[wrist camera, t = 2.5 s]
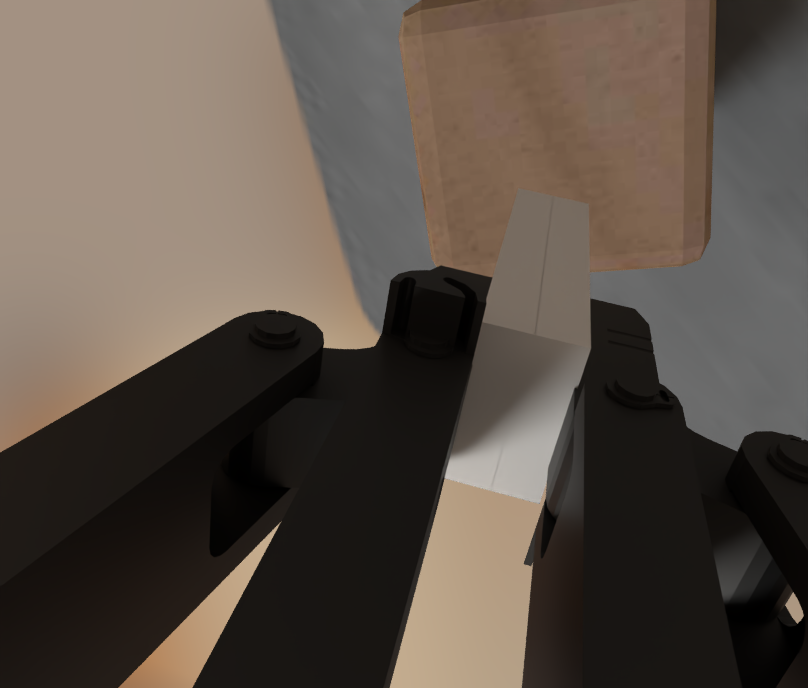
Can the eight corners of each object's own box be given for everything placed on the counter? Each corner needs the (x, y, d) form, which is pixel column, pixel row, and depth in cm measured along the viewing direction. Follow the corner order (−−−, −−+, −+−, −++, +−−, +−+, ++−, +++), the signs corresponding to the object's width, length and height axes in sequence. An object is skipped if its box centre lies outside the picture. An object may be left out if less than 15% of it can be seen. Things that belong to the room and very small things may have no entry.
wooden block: (490, 162, 45) (430, 292, 28) (471, -16, 41) (386, 6, 23) (662, 144, 42) (714, 274, 25) (661, -49, 38) (723, -52, 21)
